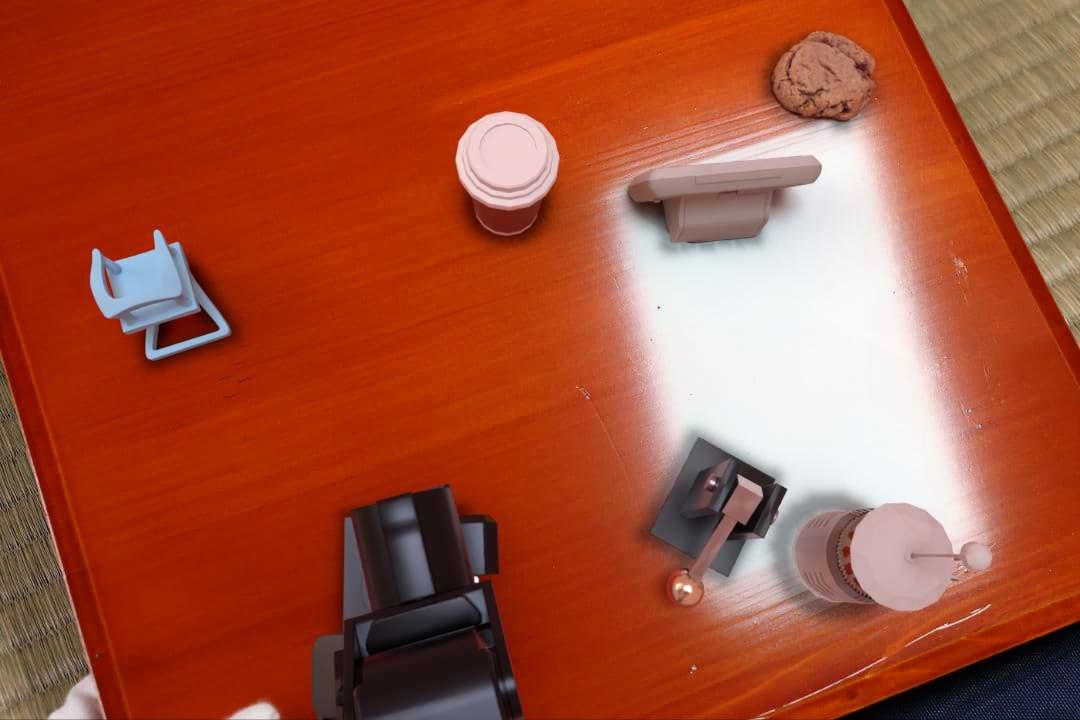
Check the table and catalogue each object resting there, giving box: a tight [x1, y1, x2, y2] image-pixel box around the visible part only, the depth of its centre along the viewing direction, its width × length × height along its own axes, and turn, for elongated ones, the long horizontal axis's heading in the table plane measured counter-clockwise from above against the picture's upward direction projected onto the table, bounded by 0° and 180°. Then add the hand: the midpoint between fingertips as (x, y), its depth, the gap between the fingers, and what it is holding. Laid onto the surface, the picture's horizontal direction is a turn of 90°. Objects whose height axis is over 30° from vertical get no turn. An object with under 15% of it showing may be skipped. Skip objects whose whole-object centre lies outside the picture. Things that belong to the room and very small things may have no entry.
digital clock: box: [627, 154, 823, 244], centre depth 81 cm, size 16×9×11 cm, turn 85°
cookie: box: [770, 30, 876, 121], centre depth 89 cm, size 10×11×3 cm
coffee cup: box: [454, 110, 561, 237], centre depth 79 cm, size 9×9×12 cm
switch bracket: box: [648, 436, 788, 578], centre depth 74 cm, size 10×8×12 cm
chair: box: [89, 229, 232, 362], centre depth 76 cm, size 8×8×12 cm
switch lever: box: [666, 475, 763, 609], centre depth 71 cm, size 12×3×3 cm, turn 151°
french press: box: [791, 502, 994, 612], centre depth 67 cm, size 10×12×25 cm
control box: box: [342, 513, 461, 632], centre depth 75 cm, size 12×10×4 cm
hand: (460, 651), depth 64 cm, fingers closed
